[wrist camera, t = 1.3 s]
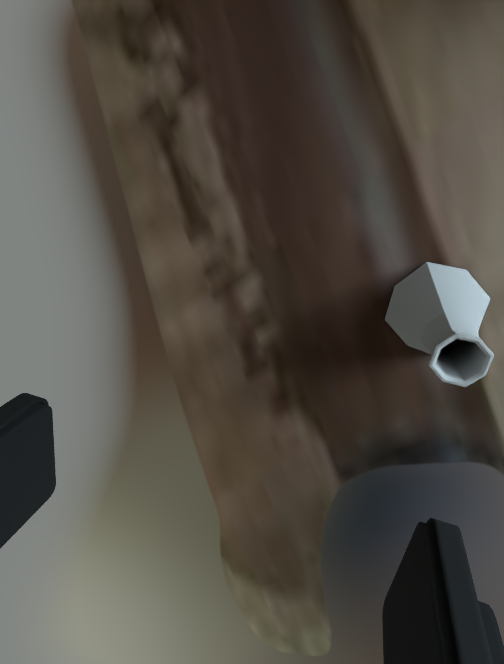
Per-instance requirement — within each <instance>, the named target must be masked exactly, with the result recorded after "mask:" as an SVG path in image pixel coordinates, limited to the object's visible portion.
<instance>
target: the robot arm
mask: <svg viewBox="0 0 504 664" xmlns="http://www.w3.org/2000/svg"><path fill="white" fill-rule="evenodd" d="M55 485H56V476H55V457H54V437H53V419H52V408H51V407H50V406H49V405H48V402H47V400H46V399H44V398H40V397H37V396H34V395H31V394H28V393H22V394H20V395H18V396H16V397H15V398H13V399H12V400H10V401H9V402H7V403H6V404H4V405H3V406H1V407H0V548H1V547H2V546H3V545H4V544H5V543H6V542H7V541H8V540H9V539H10V538H11V537H12V536H13V535H14V534H15V533H16V532H17V531H18V530H19V529H20V528H21V527H22V526H23V525H24V524H25V522H26V521H27V520H28V519H29V518H30V517H31V516H32V515H33V514H34V513H35V512H36V511H37V510H38V509H39V508H40V507H41V506H42V505H43V504H44V503H45V502H46V501H47V500H48V499H49V498H50V496H51V495H52V493H53V492H54V489H55ZM383 651H384V652H383V654H384V664H504V645H503V642H502V639H501V635H500V631H499V627H498V624H497V621H496V618H495V615H494V612H493V610H492V609H491V607H490V606H489V605H488V604H485V603H482V602H480V601H478V600H477V596H476V592H475V587H474V584H473V579H472V575H471V571H470V567H469V563H468V559H467V555H466V551H465V547H464V543H463V539H462V535H461V532H460V529H459V528H458V526H456V525H452V524H449V523H446V522H442V521H439V520H436V519H433V518H430V519H429V520H428V521H427V523H423V522H419V523H418V525H417V526H416V529H415V531H414V533H413V536H412V538H411V540H410V543H409V545H408V547H407V549H406V552H405V554H404V556H403V559H402V561H401V564H400V566H399V568H398V570H397V573H396V575H395V578H394V580H393V582H392V584H391V586H390V589H389V591H388V593H387V596H386V598H385V601H384V606H383Z"/></svg>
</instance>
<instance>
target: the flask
mask: <svg viewBox="0 0 504 664" xmlns="http://www.w3.org/2000/svg"><path fill="white" fill-rule="evenodd" d="M489 301H490V297H489V296H488V295H487V294H486V293H485V291H484V290H483V289H482V288H481V287H480V285H479V284H478V283H477V282H476V281H475V279H474V278H473V277H472V276H471V275H470V273H469V272H468V271H467V270H465V269H460V268H455V267H450V266H445V265H440V264H435V263H430V262H426V263H425V264H423V265H422V266H421V267H419V268H418V269H417V270H415V271H414V272H413V273H411V274H410V275H409V276H407V277H406V278H405V279H403V280H402V281H401V282H399V283H398V284H397V285H395V287H394V290H393V293H392V297H391V300H390V303H389V307H388V310H387V313H386V317H385V321H386V322H387V323H388V324H389V325H390V326H391V328H392V329H393V330H394V331H395V332H396V333H397V334H398V336H399V337H400V338H401V339H402V340H403V341H404V342H405V344H406V345H407V346H410V347H412V348H415V349H418V350H421V351H424V352H426V353H428V354H430V355H431V357H430V360H429V363H428V365H429V366H430V368H431V369H432V370H433V371H434V372H435V373H436V374H437V376H438V377H439V378H440V379H441V380H442V381H443V382H447V383H451V384H455V385H459V386H463V387H466V386H468V385H470V384H472V383H473V382H475V381H477V380H478V379H480V378H482V377H484V376H485V375H486V373H487V371H488V369H489V366H490V364H491V362H492V359H493V357H494V354H493V353H492V352H491V351H490V349H489V348H488V347H487V346H486V345H485V343H484V342H483V341H482V340H481V339H480V338H479V334H478V330H479V327H480V324H481V321H482V319H483V317H484V314H485V312H486V309H487V307H488V304H489Z"/></svg>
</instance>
